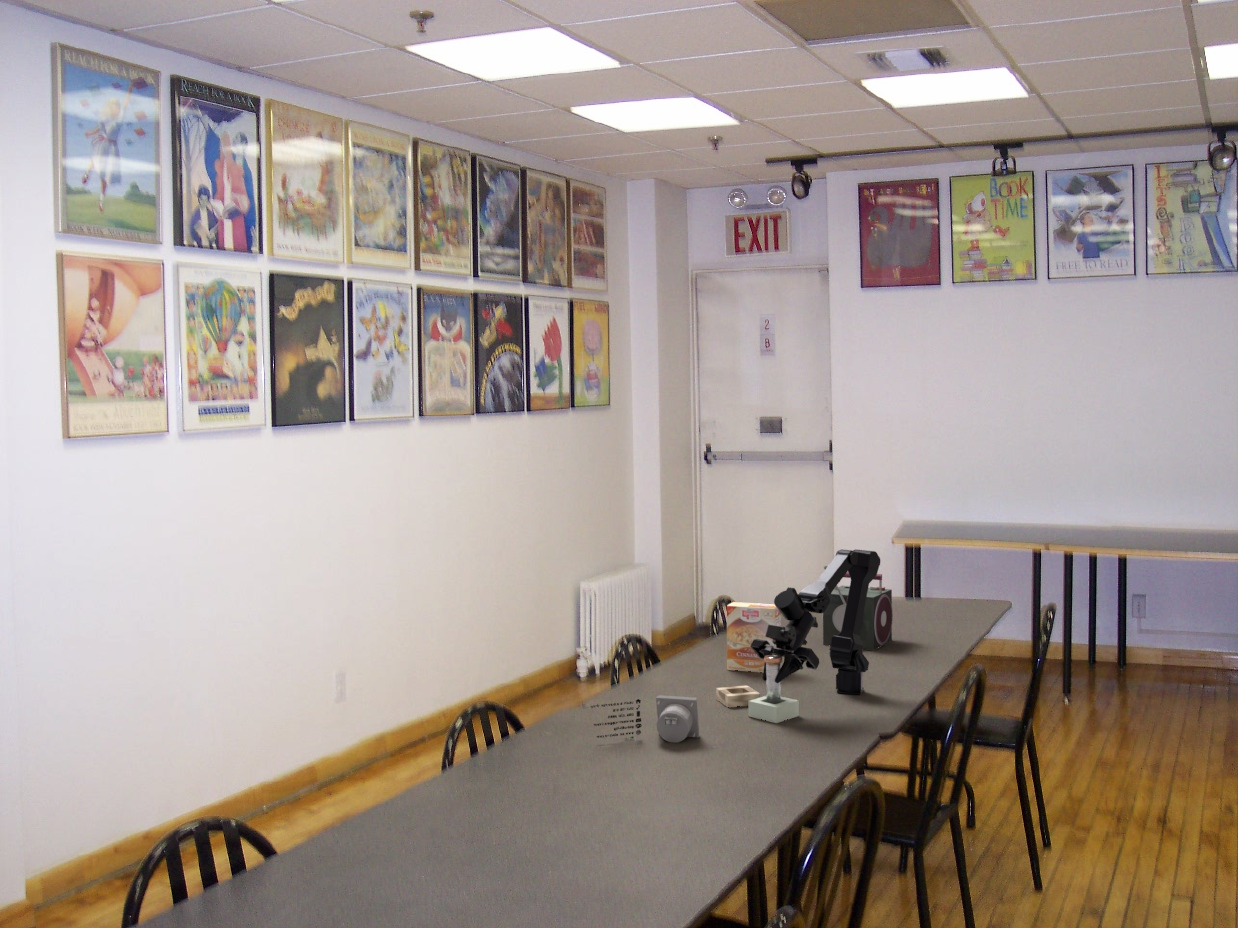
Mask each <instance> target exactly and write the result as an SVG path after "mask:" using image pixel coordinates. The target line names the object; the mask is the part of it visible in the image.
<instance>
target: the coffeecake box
mask: <svg viewBox="0 0 1238 928" xmlns="http://www.w3.org/2000/svg"><path fill="white" fill-rule="evenodd" d="M768 625H774V626H780V627H782V614H781V612H780V611H779V610H778V608H777V607H776V606H775V604H774V603H771V604H770V603H758V602H757V603H756V602H743V601H742V602H740V601H739V602H738V601H732V602H730V603H728V604H726V667H727V668H726V670H727V671H735V670H738V672H748V671H751V673H760V672H762V673H761V674H763V672H764V664H765V662H764V659H761V658H759V657H758V655H757V654H756V653H755V652H754V650H753V649H752V648H751V647H750V646H751V644H752V642H753V640H754V639H761V640H766V641H768V643H769V644H770V645H771V646H773V647H776V644H774V643H773V642H772V641H773V639H771V638H769V637H765V635H766V632H767V628H768ZM780 667H782V663H780Z"/></svg>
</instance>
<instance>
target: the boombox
mask: <svg viewBox="0 0 1238 928" xmlns="http://www.w3.org/2000/svg"><path fill="white" fill-rule="evenodd" d="M828 566H829V564H824V566H823V569H824V570H825V569H826V568H827V567H828ZM843 578H845V579H851V578H850V575H849V573H848V571H847V573H846V574H845V575H844V577H843ZM872 581H879V582H878V583H879V584H878V586H877V585H872V586H870V587H868V592H867V597H866V602H865V607H864V613H863V618H862V623H861V628H860V634H859V636H860V639H861V642H862V644H863V650H864V649H865V651H866V650H867V651H875V650H877V649H879V648H881V647H882V645H883V646H884V644H885V645H886V644H888V643H890V642H892V641H893V638H892V637H893V634H892V633H893V632H892V631H893V630H892V629H893V616H894V615H893V606H892V605H893V603H892V602H893V599H892V598H893V597H892V596H893V593H892V591H893V589H892V588H891V589H890V588H886V587H885V586H882V585H883V584H882V583H883V574H882V573H877V575H876V576H875V578H874V579H873V580H872ZM849 588H850V585H840V586H838V585H837V586H836V587H835V588H834V590H833V591H832V593H831V601H830V603H829V605H828V607H827V609H826V610H825V611H824V612H823V613H821V614H822V616H821V618H822V619H821V621H822V639H823V640H822V643H823V644H822V645H823V646H828V645H830V646H829V647H831V642H832V637H833V636H837V635H838V634H839V633H840V632H841V629H842V624H843V619H844V614H845V609H846V604H847V598H848V593H849ZM880 646H881V647H880ZM878 647H879V648H878Z"/></svg>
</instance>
